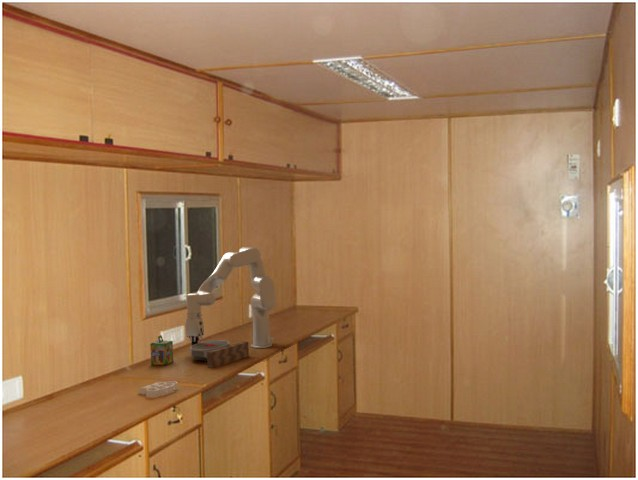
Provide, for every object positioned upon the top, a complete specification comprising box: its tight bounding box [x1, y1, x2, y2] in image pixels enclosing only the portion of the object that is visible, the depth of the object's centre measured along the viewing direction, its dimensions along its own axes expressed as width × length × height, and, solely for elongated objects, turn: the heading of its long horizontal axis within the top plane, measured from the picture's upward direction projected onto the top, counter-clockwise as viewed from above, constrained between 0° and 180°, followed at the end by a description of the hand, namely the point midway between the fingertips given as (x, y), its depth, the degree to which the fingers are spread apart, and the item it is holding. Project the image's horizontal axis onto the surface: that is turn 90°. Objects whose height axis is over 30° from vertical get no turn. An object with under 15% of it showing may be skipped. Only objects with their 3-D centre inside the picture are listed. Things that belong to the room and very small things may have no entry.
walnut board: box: [206, 341, 250, 369], centre depth 367 cm, size 30×3×8 cm, turn 147°
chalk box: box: [149, 334, 174, 366], centre depth 366 cm, size 9×9×15 cm
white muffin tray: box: [137, 380, 179, 399], centre depth 310 cm, size 3×18×15 cm
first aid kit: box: [189, 339, 231, 362], centre depth 377 cm, size 18×8×25 cm
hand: (194, 348), depth 383 cm, fingers closed
